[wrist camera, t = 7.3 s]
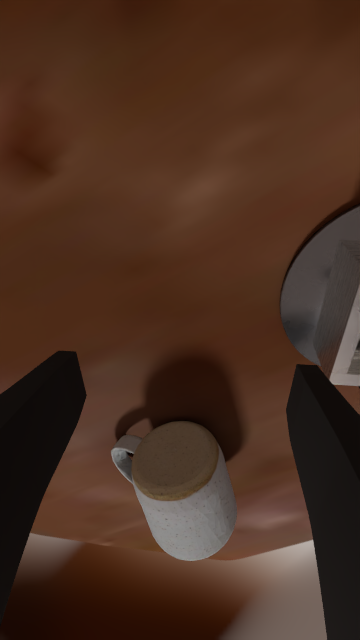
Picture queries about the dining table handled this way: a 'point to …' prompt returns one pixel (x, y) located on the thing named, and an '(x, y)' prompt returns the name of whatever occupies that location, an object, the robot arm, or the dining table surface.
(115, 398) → the dining table surface
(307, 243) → the press
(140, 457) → the ceramic mug
